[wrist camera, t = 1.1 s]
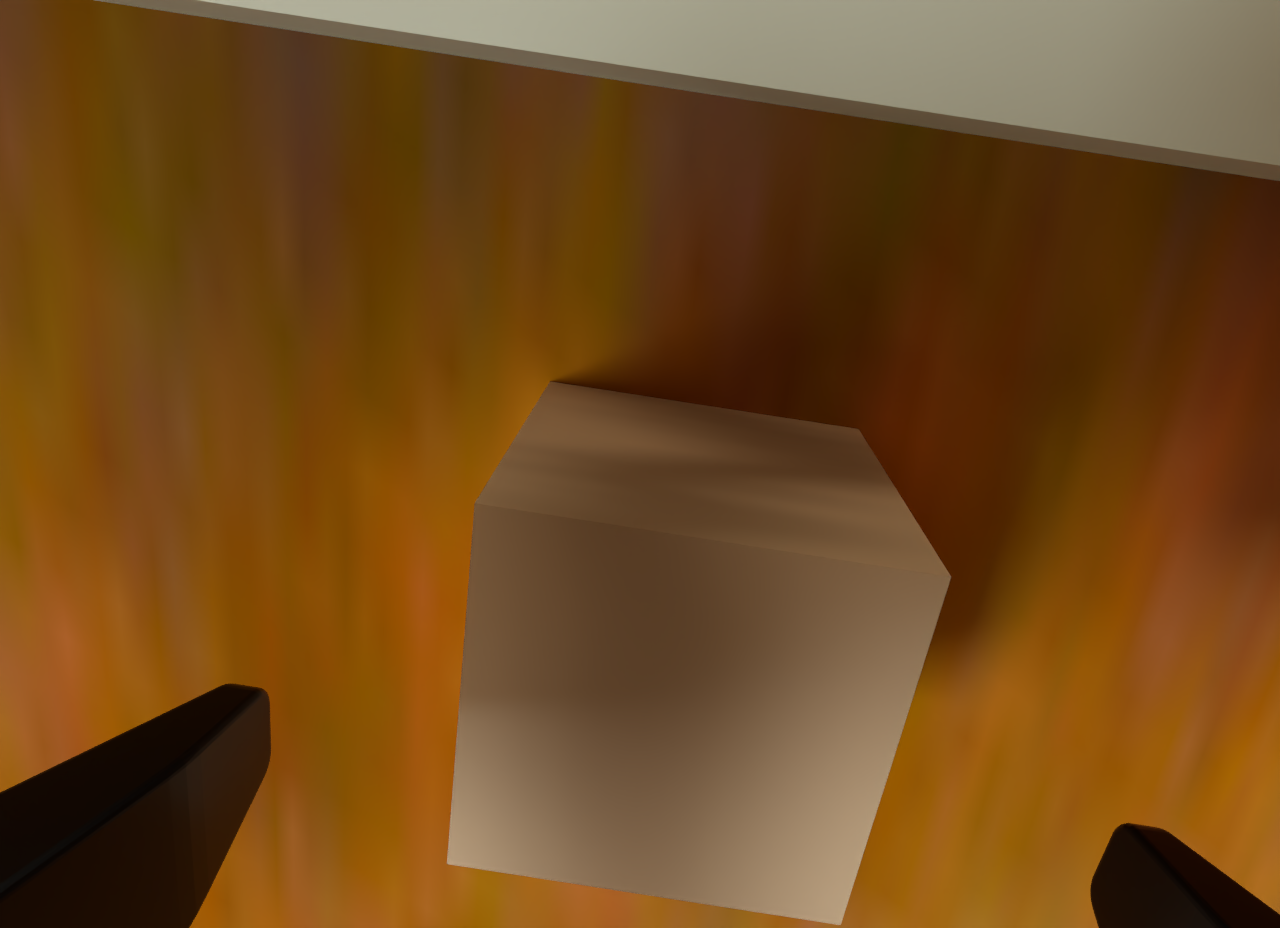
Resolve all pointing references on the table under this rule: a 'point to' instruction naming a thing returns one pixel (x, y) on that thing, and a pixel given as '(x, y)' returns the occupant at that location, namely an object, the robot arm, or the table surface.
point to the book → (884, 60)
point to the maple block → (686, 653)
